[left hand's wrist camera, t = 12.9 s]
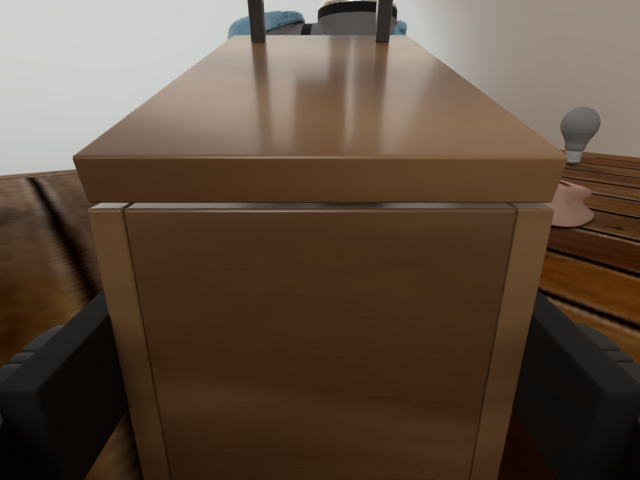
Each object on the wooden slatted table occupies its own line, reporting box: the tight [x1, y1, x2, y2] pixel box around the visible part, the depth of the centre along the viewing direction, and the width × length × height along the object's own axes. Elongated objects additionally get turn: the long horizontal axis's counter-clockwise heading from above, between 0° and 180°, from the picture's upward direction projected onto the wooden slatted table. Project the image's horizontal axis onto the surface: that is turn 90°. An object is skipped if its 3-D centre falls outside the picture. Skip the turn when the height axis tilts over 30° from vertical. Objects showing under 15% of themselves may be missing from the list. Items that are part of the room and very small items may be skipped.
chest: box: [88, 203, 554, 480], centre depth 18 cm, size 17×10×10 cm, turn 0°
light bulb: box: [561, 107, 601, 164], centre depth 72 cm, size 6×6×10 cm
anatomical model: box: [542, 180, 594, 227], centre depth 45 cm, size 13×4×12 cm
